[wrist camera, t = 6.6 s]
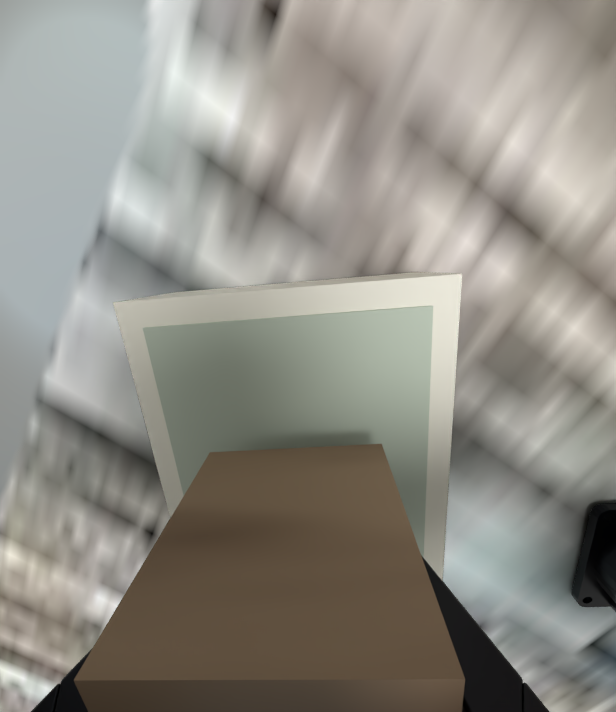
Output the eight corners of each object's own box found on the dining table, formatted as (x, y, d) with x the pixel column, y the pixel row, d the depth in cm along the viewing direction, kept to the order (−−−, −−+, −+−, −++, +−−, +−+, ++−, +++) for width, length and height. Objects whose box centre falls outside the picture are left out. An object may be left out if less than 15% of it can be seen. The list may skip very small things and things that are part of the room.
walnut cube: (383, 575, 10) (445, 871, 5) (235, 578, 10) (159, 860, 5) (381, 443, 8) (464, 678, 4) (209, 452, 9) (72, 681, 4)
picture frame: (410, 541, 16) (441, 632, 12) (228, 547, 16) (199, 636, 12) (416, 272, 12) (464, 273, 8) (176, 292, 12) (109, 303, 8)
